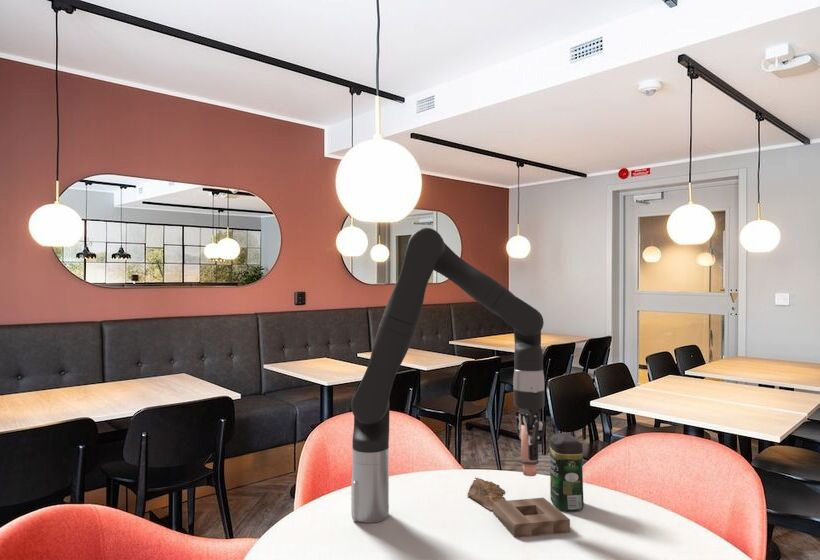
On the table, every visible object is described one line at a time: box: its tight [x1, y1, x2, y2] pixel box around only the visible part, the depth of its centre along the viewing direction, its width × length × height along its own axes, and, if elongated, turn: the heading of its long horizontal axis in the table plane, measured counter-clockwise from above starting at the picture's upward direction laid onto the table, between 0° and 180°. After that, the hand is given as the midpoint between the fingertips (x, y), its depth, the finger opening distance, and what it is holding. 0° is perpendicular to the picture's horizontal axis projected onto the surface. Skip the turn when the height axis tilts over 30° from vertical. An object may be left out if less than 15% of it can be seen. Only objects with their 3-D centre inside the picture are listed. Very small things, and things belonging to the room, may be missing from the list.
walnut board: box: [492, 497, 571, 538], centre depth 134 cm, size 14×14×3 cm
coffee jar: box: [549, 432, 584, 512], centre depth 145 cm, size 10×8×19 cm
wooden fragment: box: [466, 477, 507, 513], centre depth 154 cm, size 26×11×1 cm, turn 179°
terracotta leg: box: [520, 425, 540, 477], centre depth 134 cm, size 4×4×12 cm
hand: (529, 456), depth 134 cm, fingers closed on terracotta leg, 4 cm apart
